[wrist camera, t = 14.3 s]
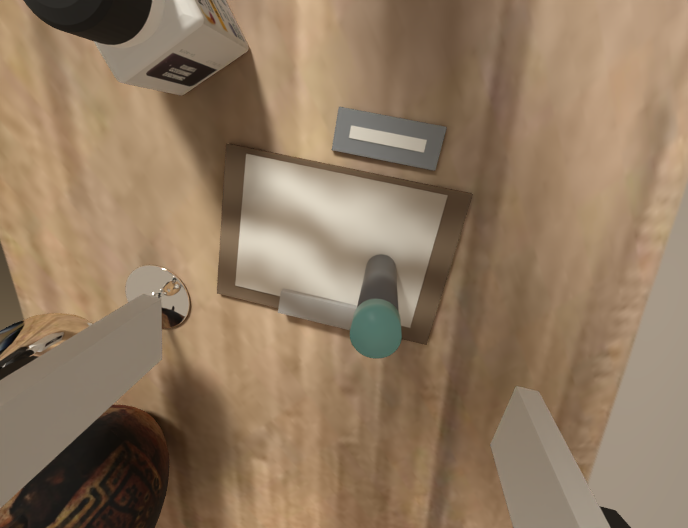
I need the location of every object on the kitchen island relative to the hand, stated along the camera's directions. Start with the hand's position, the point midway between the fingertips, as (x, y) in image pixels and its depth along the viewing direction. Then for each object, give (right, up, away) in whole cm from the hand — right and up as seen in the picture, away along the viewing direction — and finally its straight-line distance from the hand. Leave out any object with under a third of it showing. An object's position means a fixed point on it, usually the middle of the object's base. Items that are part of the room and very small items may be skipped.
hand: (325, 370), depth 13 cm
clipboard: (0, +5, +21) cm, 22 cm away
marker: (+4, +3, +20) cm, 21 cm away
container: (-12, +24, +17) cm, 32 cm away
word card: (+4, +14, +17) cm, 23 cm away
